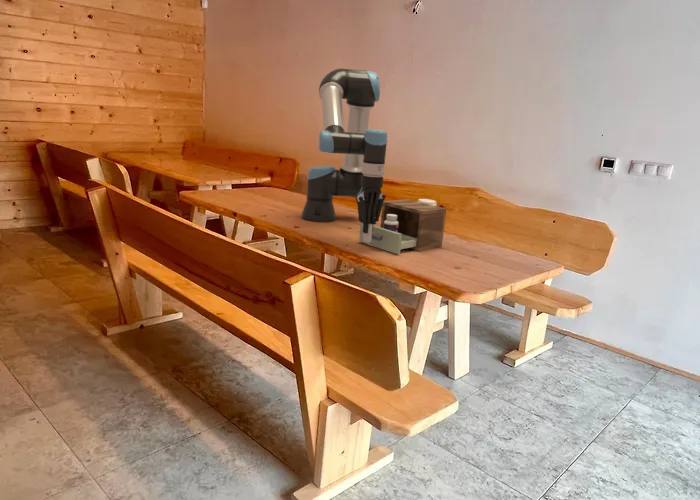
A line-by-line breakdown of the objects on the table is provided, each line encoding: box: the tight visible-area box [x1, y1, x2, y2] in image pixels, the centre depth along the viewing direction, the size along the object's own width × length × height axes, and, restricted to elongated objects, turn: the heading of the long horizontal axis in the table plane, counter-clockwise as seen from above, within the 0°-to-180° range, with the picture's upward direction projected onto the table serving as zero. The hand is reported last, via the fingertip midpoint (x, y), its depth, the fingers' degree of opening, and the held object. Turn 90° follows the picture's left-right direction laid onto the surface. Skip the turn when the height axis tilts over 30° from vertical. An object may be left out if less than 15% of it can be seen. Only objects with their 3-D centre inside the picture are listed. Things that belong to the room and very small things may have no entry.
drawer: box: [358, 222, 417, 255], centre depth 194 cm, size 20×16×7 cm
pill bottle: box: [384, 214, 399, 233], centre depth 193 cm, size 5×5×10 cm
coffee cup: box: [417, 198, 438, 206], centre depth 214 cm, size 8×8×15 cm
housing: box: [379, 198, 448, 252], centre depth 201 cm, size 20×14×15 cm
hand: (366, 241), depth 186 cm, fingers closed
